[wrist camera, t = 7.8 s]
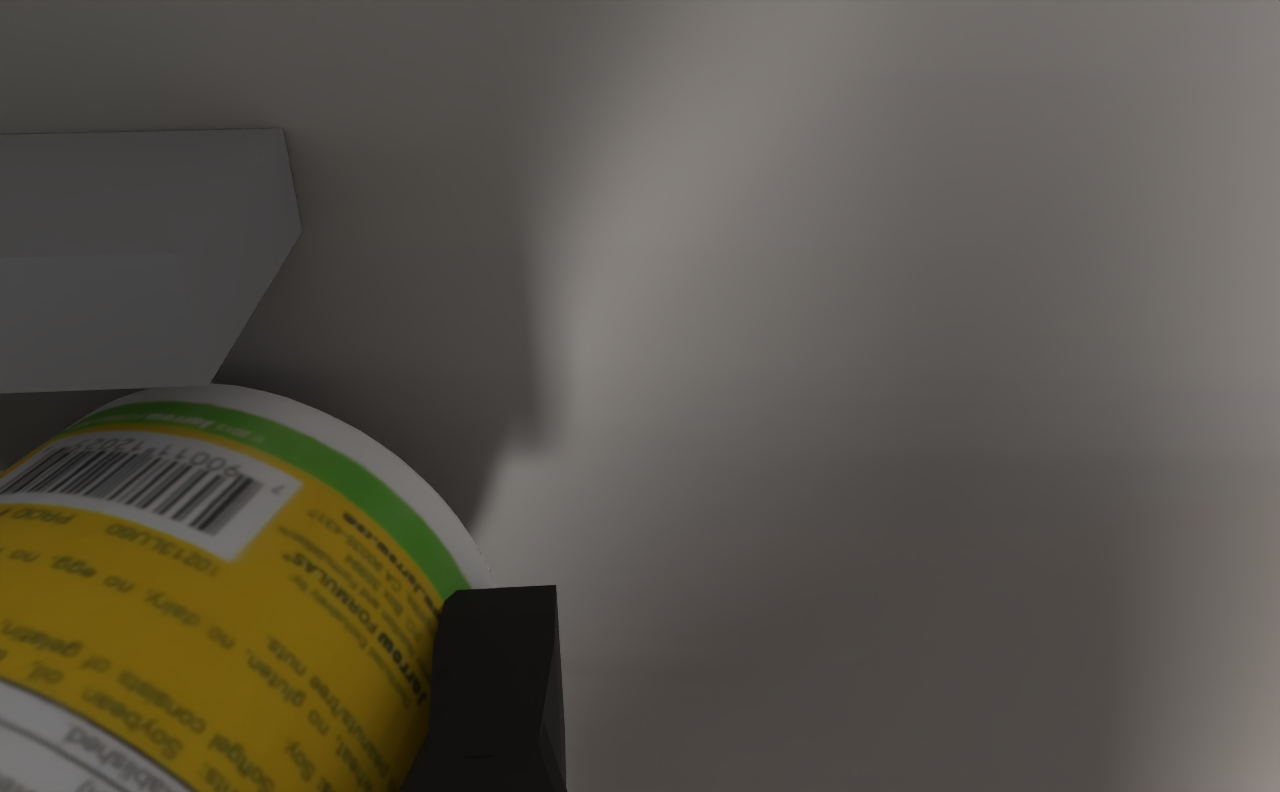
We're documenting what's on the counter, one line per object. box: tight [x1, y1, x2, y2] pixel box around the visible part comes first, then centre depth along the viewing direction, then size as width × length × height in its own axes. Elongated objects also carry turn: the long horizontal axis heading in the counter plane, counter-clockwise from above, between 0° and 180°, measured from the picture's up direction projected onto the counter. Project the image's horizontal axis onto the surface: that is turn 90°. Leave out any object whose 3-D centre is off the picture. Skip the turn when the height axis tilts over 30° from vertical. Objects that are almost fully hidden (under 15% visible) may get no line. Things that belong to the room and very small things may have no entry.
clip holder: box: [0, 128, 302, 394], centre depth 10 cm, size 10×6×3 cm, turn 0°
